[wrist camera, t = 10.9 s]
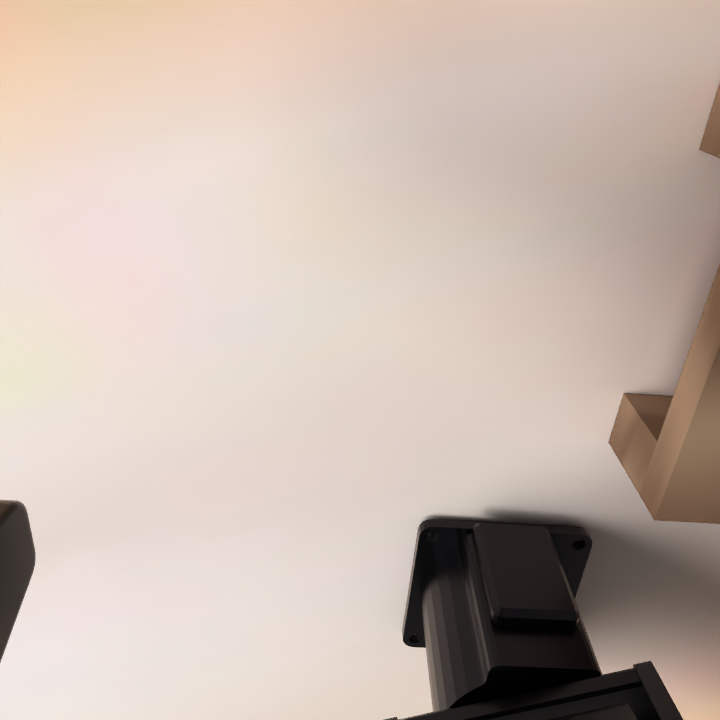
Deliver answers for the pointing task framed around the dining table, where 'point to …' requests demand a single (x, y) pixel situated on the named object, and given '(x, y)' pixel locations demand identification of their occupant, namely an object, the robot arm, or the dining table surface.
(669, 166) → the dining table surface
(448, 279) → the dining table surface
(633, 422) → the walnut stand
